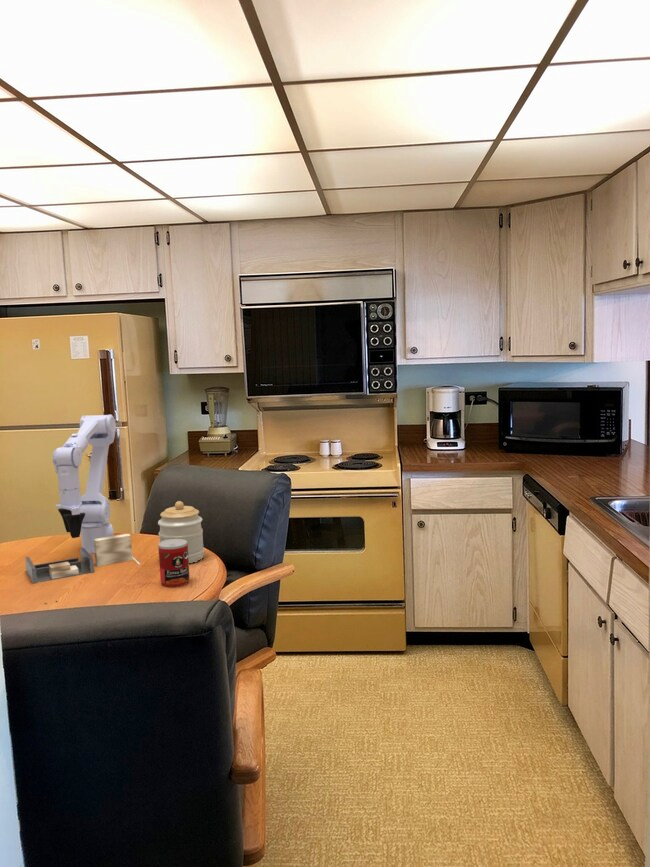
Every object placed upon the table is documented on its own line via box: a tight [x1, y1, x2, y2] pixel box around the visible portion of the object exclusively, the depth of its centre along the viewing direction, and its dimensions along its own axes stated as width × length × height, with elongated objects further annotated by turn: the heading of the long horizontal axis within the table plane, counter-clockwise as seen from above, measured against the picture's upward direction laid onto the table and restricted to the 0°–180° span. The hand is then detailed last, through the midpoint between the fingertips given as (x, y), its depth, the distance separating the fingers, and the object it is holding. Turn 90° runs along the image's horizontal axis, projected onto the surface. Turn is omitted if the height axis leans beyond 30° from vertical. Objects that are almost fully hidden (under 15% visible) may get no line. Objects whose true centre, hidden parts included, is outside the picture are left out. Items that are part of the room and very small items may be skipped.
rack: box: [24, 547, 95, 584], centre depth 194 cm, size 16×13×5 cm
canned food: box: [158, 539, 190, 588], centre depth 184 cm, size 8×8×11 cm
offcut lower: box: [49, 565, 79, 579], centre depth 191 cm, size 7×4×2 cm, turn 120°
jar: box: [157, 500, 205, 564], centre depth 205 cm, size 13×13×18 cm
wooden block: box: [94, 533, 133, 567], centre depth 201 cm, size 10×3×8 cm, turn 121°
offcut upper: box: [49, 562, 71, 573], centre depth 191 cm, size 5×3×2 cm
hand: (73, 534), depth 200 cm, fingers open, 7 cm apart
